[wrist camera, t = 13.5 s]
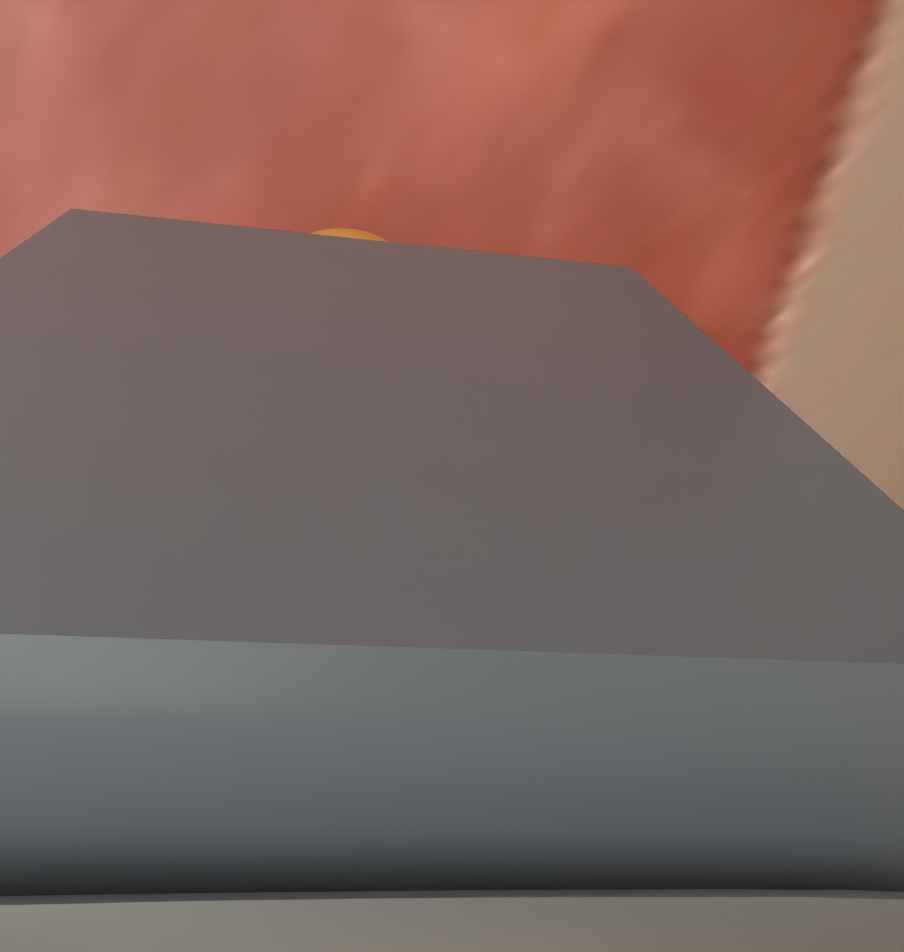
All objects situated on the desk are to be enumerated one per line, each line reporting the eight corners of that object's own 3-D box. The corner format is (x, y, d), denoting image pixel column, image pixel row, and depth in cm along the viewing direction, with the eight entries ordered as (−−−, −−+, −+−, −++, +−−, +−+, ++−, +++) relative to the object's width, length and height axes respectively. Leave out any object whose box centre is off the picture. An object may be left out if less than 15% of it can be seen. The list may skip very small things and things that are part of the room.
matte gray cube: (71, 208, 11) (-514, 615, 4) (630, 266, 13) (1083, 669, 5) (103, 666, 15) (-159, 1368, 7) (539, 679, 16) (716, 1296, 8)
